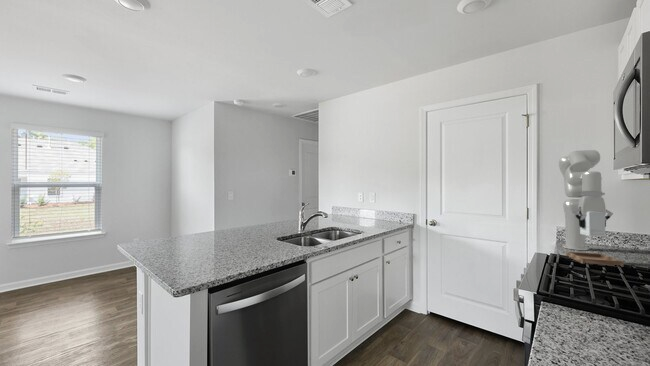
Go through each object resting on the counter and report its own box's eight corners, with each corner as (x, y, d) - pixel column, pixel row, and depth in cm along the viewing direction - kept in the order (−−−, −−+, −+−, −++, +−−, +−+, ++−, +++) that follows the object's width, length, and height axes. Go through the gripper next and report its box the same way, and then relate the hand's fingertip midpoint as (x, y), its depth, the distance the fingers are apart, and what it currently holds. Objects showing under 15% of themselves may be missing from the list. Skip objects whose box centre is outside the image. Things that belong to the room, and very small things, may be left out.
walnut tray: (566, 256, 161) (566, 251, 161) (602, 258, 155) (602, 253, 155) (582, 263, 144) (582, 258, 144) (623, 266, 138) (623, 261, 138)
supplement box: (606, 236, 145) (605, 212, 146) (589, 236, 147) (588, 211, 147) (595, 234, 153) (595, 211, 153) (579, 234, 154) (579, 210, 154)
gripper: (608, 194, 151) (609, 227, 150) (568, 194, 157) (568, 226, 156) (617, 195, 144) (618, 229, 143) (574, 194, 150) (575, 227, 149)
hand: (592, 227), depth 150 cm, fingers closed on supplement box, 8 cm apart
